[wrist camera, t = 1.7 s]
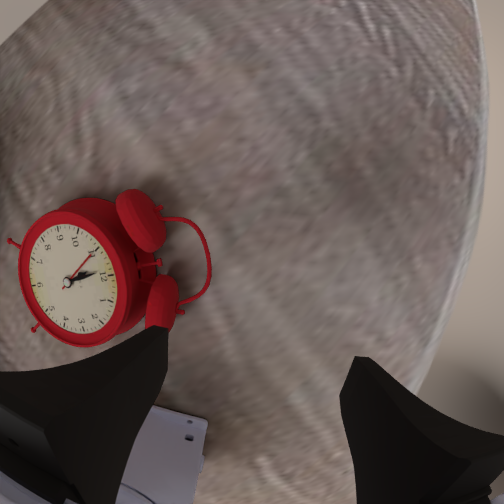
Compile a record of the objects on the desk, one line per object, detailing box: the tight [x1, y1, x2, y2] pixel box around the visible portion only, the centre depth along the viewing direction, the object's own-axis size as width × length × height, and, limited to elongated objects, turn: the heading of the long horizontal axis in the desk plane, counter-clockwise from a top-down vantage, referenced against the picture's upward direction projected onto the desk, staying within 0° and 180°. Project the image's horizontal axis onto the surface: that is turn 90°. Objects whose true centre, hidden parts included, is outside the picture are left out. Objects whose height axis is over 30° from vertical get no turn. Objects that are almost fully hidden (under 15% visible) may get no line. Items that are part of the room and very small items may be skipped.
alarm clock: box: [7, 189, 212, 347], centre depth 18 cm, size 10×6×15 cm
